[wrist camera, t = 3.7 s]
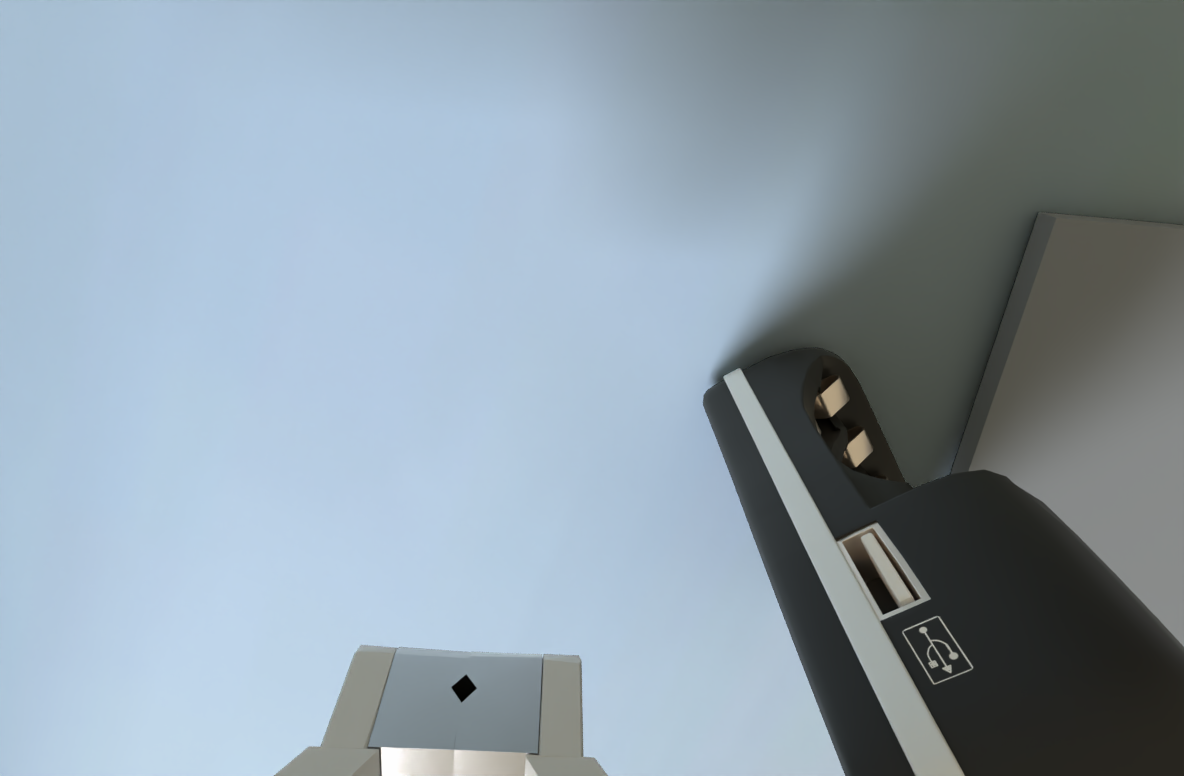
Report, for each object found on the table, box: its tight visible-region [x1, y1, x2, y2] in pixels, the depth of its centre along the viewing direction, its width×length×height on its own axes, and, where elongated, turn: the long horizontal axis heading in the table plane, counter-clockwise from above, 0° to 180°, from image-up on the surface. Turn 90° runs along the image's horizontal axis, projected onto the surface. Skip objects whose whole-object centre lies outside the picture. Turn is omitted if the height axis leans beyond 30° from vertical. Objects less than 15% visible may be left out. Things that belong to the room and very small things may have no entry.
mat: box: [950, 212, 1184, 646], centre depth 18 cm, size 10×13×1 cm
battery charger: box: [703, 348, 1184, 776], centre depth 12 cm, size 7×4×11 cm, turn 30°
